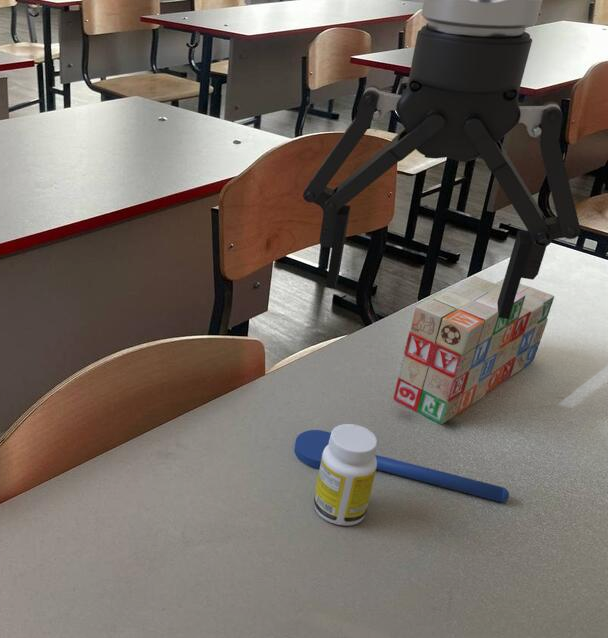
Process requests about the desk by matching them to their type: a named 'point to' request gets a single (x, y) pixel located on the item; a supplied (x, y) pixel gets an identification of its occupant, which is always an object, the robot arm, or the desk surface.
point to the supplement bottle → (346, 475)
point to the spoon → (398, 468)
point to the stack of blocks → (468, 346)
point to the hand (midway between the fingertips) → (414, 296)
